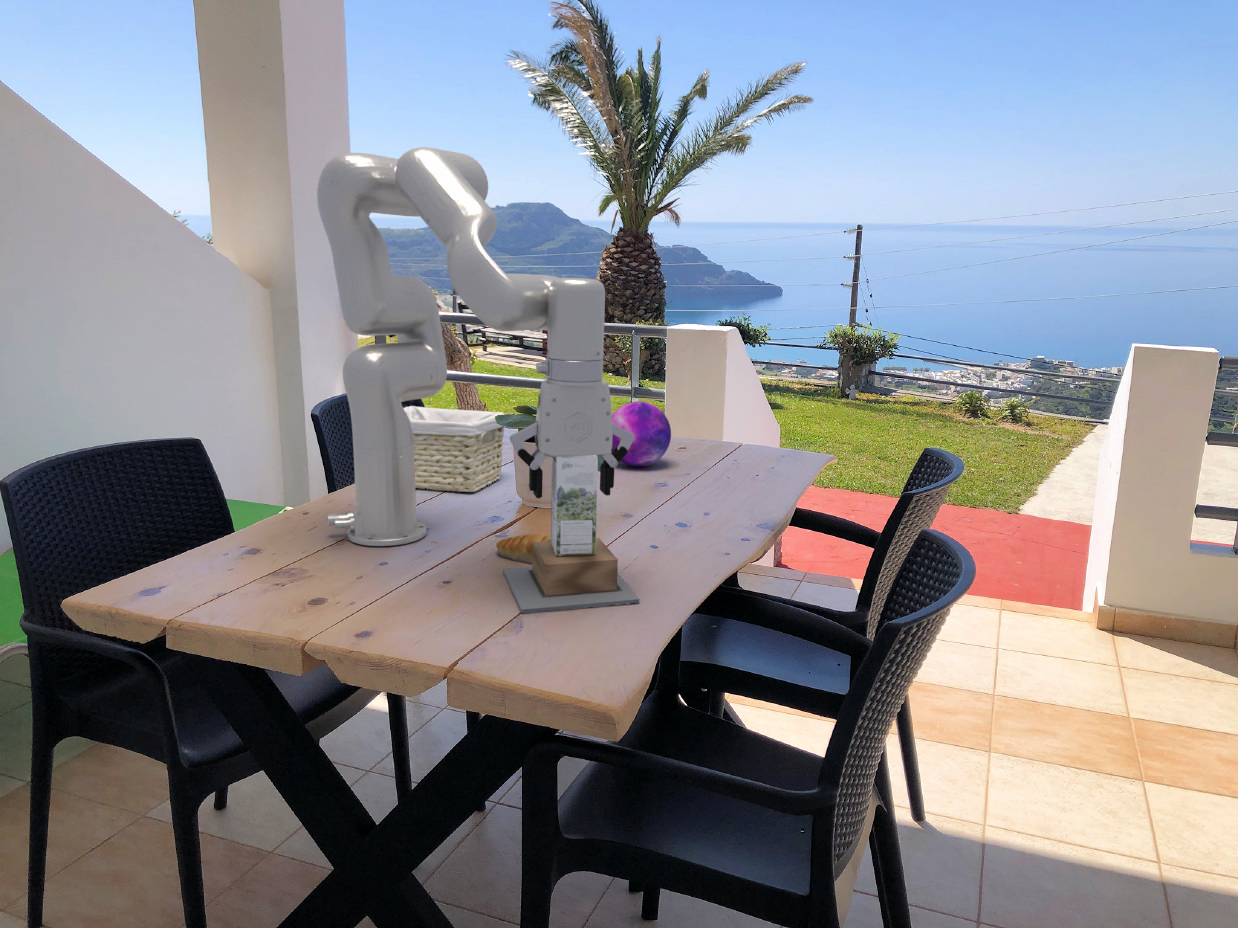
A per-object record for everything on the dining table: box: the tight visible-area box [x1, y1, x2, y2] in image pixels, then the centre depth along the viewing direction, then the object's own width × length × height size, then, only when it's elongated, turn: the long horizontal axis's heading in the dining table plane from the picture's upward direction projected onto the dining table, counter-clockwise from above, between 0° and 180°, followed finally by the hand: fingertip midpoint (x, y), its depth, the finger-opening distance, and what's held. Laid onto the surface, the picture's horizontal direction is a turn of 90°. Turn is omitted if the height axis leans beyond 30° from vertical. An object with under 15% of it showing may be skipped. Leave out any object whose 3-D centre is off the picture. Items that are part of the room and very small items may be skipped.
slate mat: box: [502, 566, 640, 614], centre depth 119 cm, size 16×16×1 cm
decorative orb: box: [610, 401, 672, 468], centre depth 195 cm, size 15×15×15 cm
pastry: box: [495, 533, 551, 564], centre depth 132 cm, size 9×7×4 cm
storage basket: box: [403, 405, 506, 493], centre depth 176 cm, size 24×16×15 cm
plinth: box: [528, 537, 621, 598], centre depth 120 cm, size 11×11×5 cm
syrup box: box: [550, 455, 599, 556], centre depth 118 cm, size 6×6×14 cm
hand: (571, 494), depth 118 cm, fingers open, 9 cm apart
